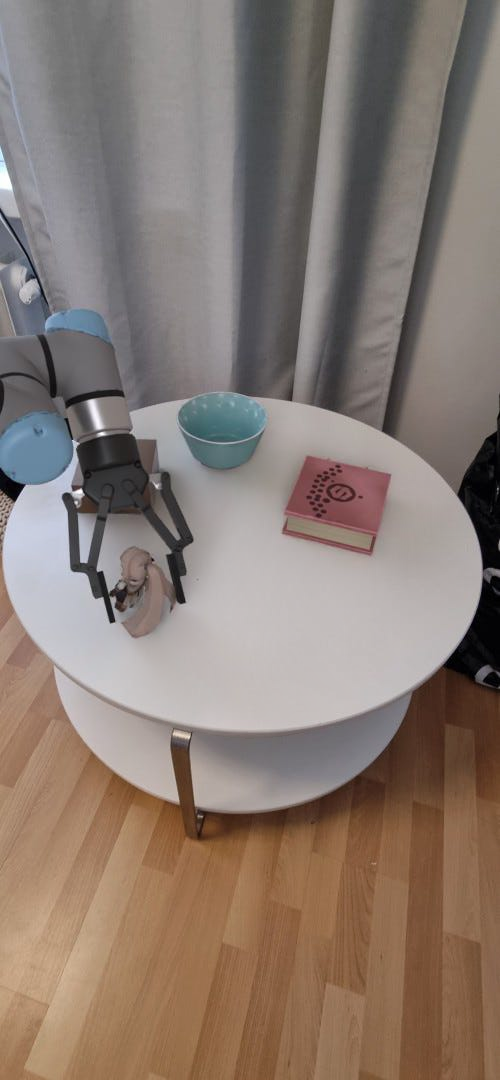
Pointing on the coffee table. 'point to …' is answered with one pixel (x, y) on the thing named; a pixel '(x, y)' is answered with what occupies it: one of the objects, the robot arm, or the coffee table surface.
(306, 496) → the book
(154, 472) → the walnut block
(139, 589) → the toy
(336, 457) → the coffee table surface
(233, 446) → the bowl
